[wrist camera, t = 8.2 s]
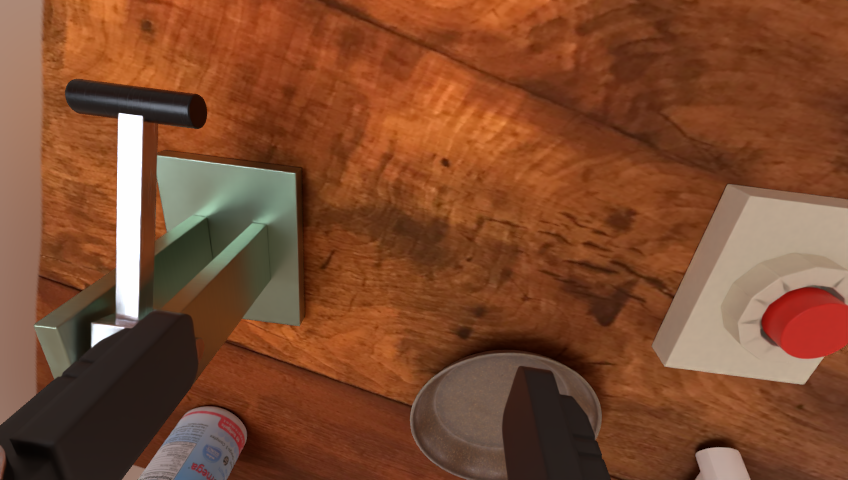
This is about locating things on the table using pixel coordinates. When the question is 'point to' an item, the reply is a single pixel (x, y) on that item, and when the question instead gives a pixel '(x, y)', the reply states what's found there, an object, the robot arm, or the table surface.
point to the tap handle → (134, 183)
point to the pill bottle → (199, 447)
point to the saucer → (483, 410)
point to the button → (807, 323)
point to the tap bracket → (206, 256)
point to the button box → (754, 281)
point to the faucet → (721, 464)
